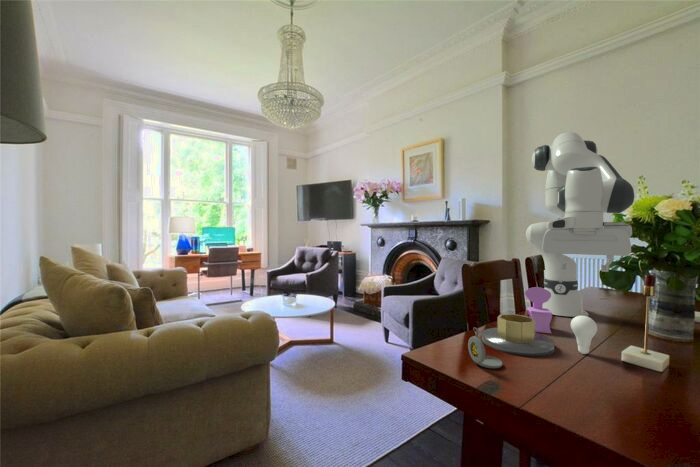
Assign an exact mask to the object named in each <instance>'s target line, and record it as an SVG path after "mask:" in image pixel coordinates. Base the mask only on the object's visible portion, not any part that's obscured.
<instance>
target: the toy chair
mask: <svg viewBox="0 0 700 467" xmlns="http://www.w3.org/2000/svg"><path fill="white" fill-rule="evenodd" d="M544 288H545V287H544ZM544 288H543V287H540V286H534V287H530V288H528V289H526V290H525V291H524V296H525V298H527V300H529V301H530V302H531V303H532V306H527V307H526V308H527V309H526V310H527V311H526V312H527V313H528V317H530V318H533V319H535V333H544V334H552V331H551V328H550V327H551V326H550V324H551V321H552V318H553V314H552V312H551V311H549V310H548V309H547V308H542V305H543V303H545V302H547V301H548V300H549V299H550V297H551V293H550V292H549V291H548V290H546V289H544Z"/></svg>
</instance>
